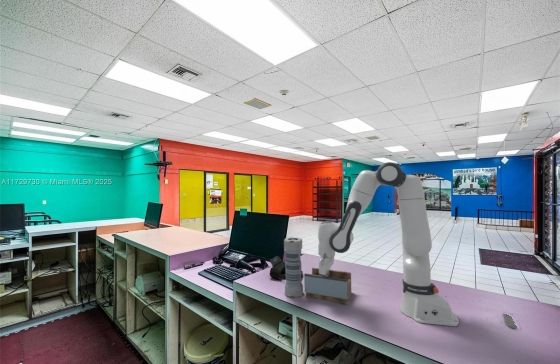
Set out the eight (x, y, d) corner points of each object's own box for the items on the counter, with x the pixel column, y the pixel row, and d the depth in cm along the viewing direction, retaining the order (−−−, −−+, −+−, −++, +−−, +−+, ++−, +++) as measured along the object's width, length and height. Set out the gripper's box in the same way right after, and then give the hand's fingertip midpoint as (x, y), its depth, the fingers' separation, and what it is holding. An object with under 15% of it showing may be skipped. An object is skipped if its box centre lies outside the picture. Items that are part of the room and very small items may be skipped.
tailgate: (347, 298, 121) (347, 279, 121) (346, 299, 120) (346, 280, 120) (305, 290, 130) (305, 273, 130) (304, 292, 129) (304, 274, 129)
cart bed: (351, 292, 134) (351, 272, 134) (347, 303, 122) (347, 281, 122) (312, 286, 143) (312, 267, 143) (305, 296, 130) (305, 275, 131)
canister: (302, 298, 128) (301, 241, 129) (283, 296, 130) (282, 240, 131) (304, 290, 138) (303, 237, 138) (286, 288, 140) (285, 236, 140)
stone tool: (522, 329, 97) (505, 323, 100) (521, 333, 97) (505, 327, 100) (516, 315, 108) (501, 310, 111) (515, 318, 109) (500, 313, 112)
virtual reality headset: (277, 268, 173) (279, 254, 173) (306, 277, 164) (308, 263, 163) (264, 276, 156) (266, 261, 156) (295, 288, 147) (298, 272, 146)
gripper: (328, 257, 119) (328, 285, 119) (336, 247, 138) (336, 271, 138) (315, 256, 122) (315, 283, 122) (325, 246, 140) (325, 270, 140)
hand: (326, 277), depth 130 cm, fingers closed
